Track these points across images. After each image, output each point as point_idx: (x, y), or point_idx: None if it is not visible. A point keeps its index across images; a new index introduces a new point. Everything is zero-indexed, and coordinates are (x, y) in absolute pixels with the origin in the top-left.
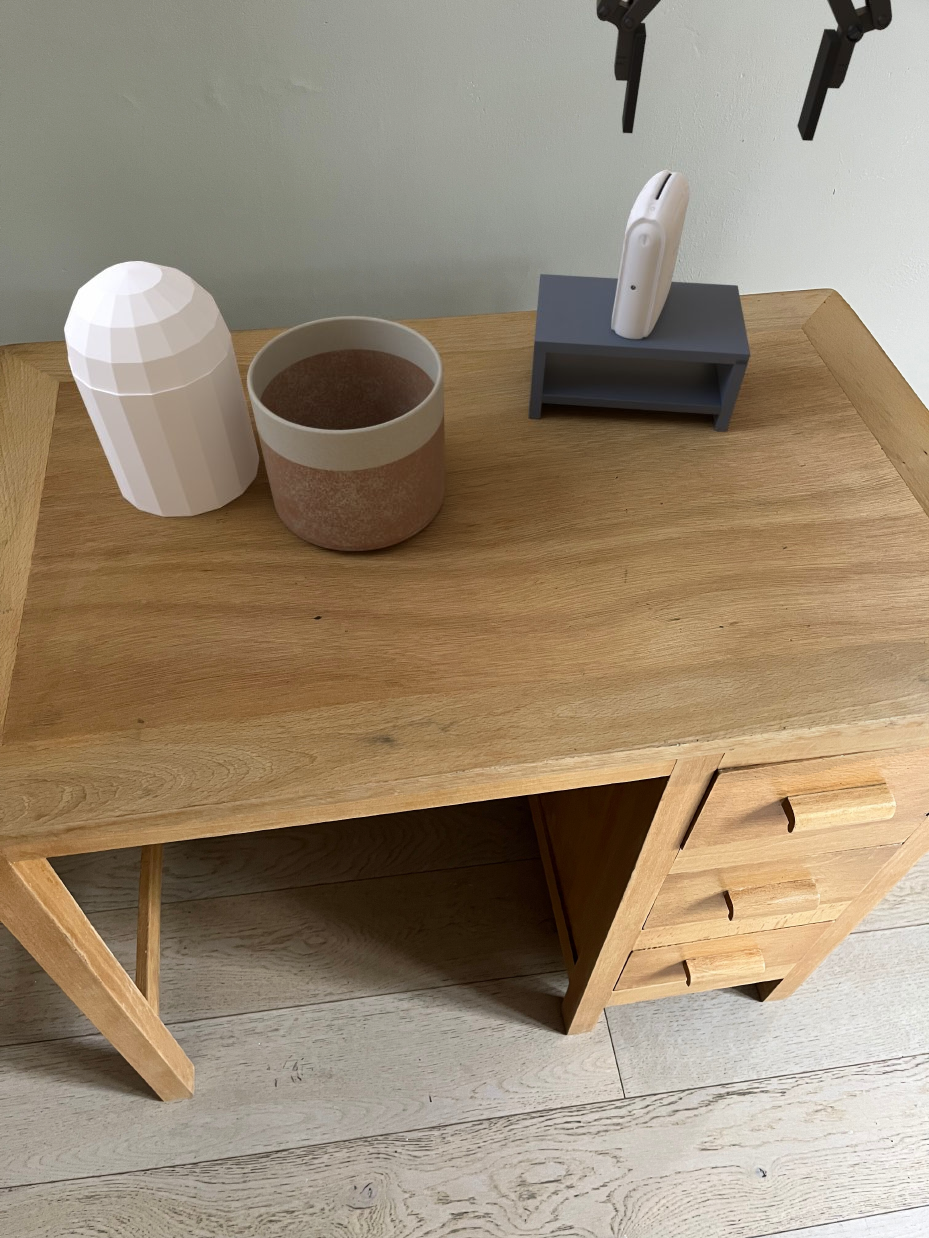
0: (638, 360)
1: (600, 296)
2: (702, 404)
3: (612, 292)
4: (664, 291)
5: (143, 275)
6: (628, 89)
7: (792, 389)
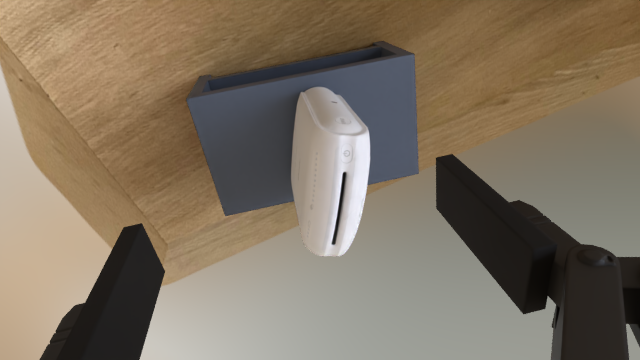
0: None
1: None
2: (227, 78)
3: None
4: (296, 135)
5: None
6: (490, 187)
7: (154, 158)
